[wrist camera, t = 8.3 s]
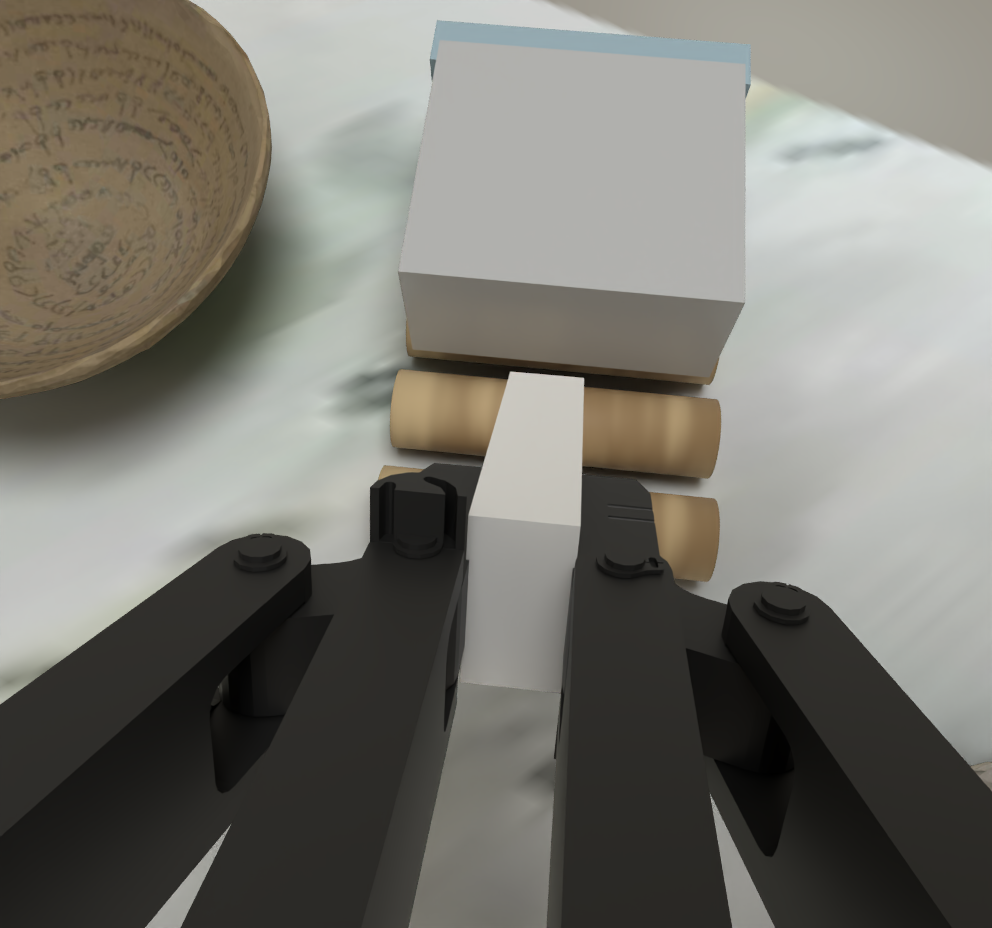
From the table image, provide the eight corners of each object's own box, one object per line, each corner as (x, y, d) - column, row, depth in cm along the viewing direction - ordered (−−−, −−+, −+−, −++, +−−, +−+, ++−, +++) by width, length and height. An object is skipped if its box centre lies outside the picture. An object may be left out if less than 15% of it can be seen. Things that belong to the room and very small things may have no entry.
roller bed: (707, 254, 38) (723, 209, 35) (699, 590, 32) (719, 569, 29) (433, 229, 38) (428, 183, 35) (379, 556, 32) (368, 532, 30)
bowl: (388, 344, 36) (360, 222, 29) (-44, 562, 32) (-204, 488, 25) (210, 58, 42) (149, -104, 35) (-170, 216, 38) (-329, 73, 31)
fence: (709, 171, 39) (750, 44, 33) (708, 207, 38) (750, 84, 32) (447, 150, 40) (437, 20, 33) (441, 184, 39) (429, 58, 32)
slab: (713, 162, 35) (745, 63, 31) (709, 377, 32) (745, 302, 27) (447, 139, 36) (439, 40, 31) (412, 349, 32) (397, 271, 28)
